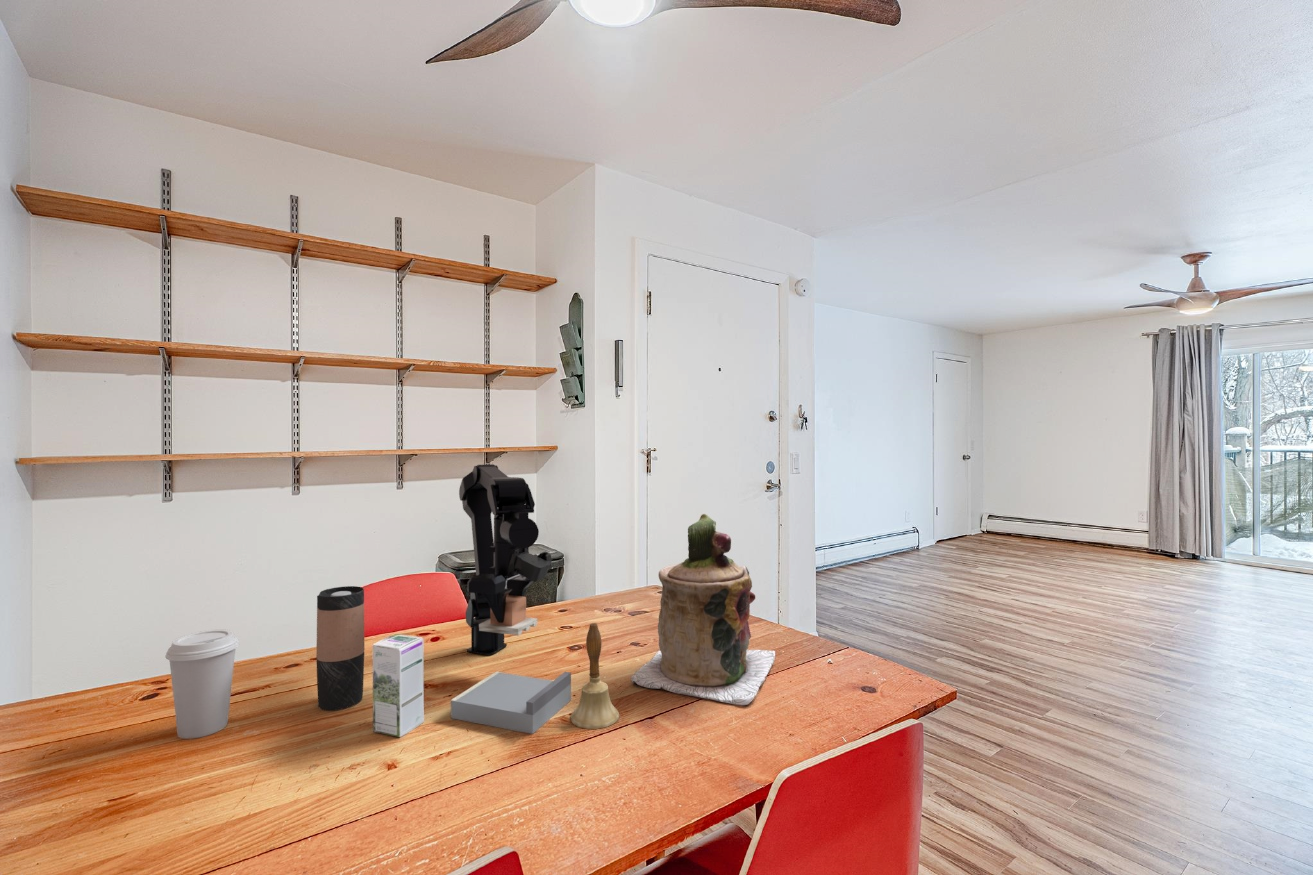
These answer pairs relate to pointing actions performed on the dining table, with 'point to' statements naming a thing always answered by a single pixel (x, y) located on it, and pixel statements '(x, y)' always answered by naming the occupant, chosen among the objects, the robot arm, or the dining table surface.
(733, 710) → the dining table surface
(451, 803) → the dining table surface
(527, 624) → the pallet
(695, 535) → the cookie jar
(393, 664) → the syrup box
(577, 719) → the hand bell
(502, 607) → the robot arm
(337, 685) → the travel mug
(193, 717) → the coffee cup
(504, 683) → the dock
